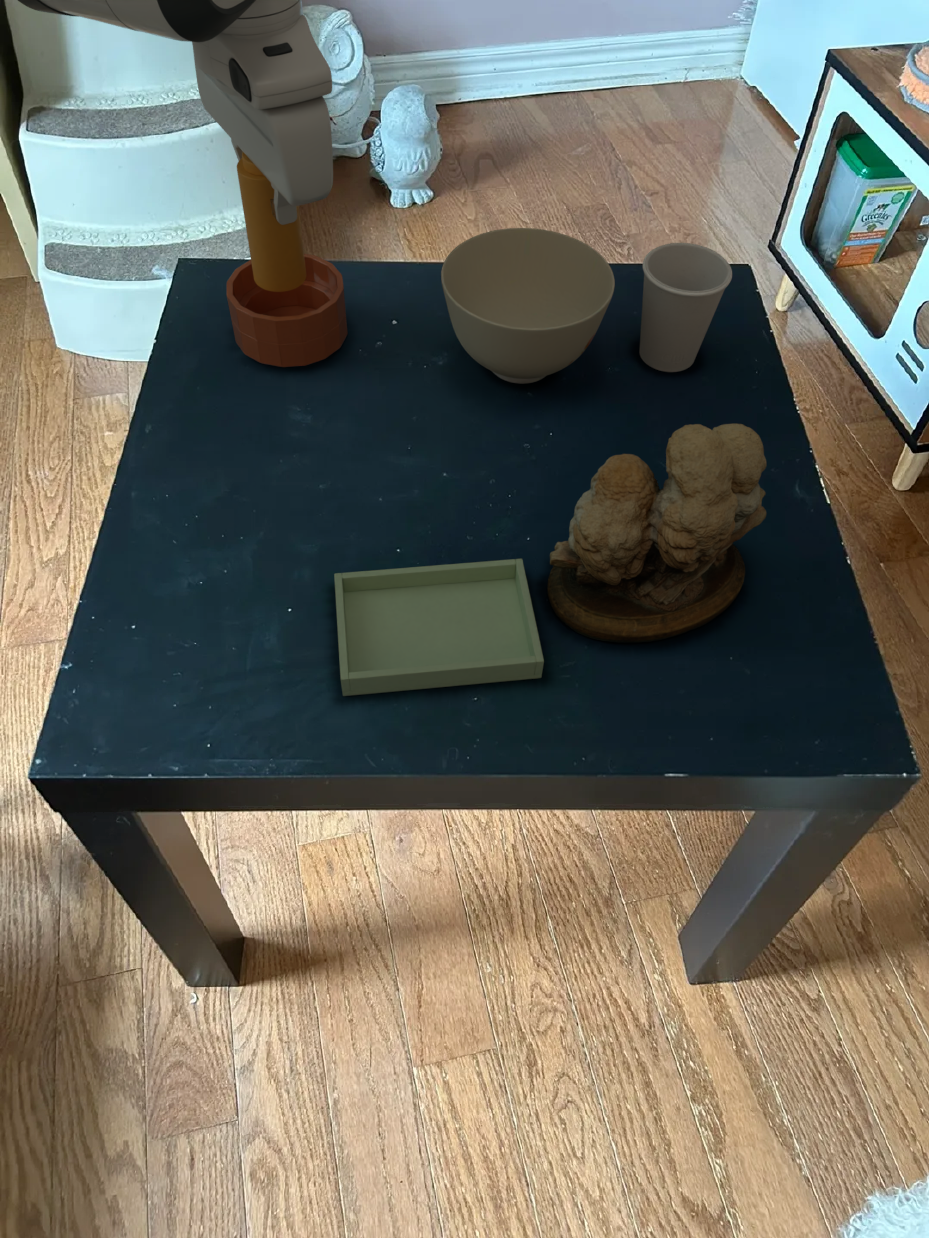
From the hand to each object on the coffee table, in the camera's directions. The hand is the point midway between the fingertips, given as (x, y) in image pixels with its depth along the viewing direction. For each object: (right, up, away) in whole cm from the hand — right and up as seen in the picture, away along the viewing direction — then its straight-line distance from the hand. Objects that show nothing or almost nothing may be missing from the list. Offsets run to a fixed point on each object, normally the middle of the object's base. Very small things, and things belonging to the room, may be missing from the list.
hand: (270, 203), depth 87 cm
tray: (+15, -39, -11) cm, 43 cm away
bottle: (0, -5, +6) cm, 8 cm away
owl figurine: (+33, -35, -7) cm, 48 cm away
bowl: (+23, -12, +10) cm, 28 cm away
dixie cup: (+38, -11, +12) cm, 41 cm away
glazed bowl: (0, -9, +12) cm, 14 cm away
